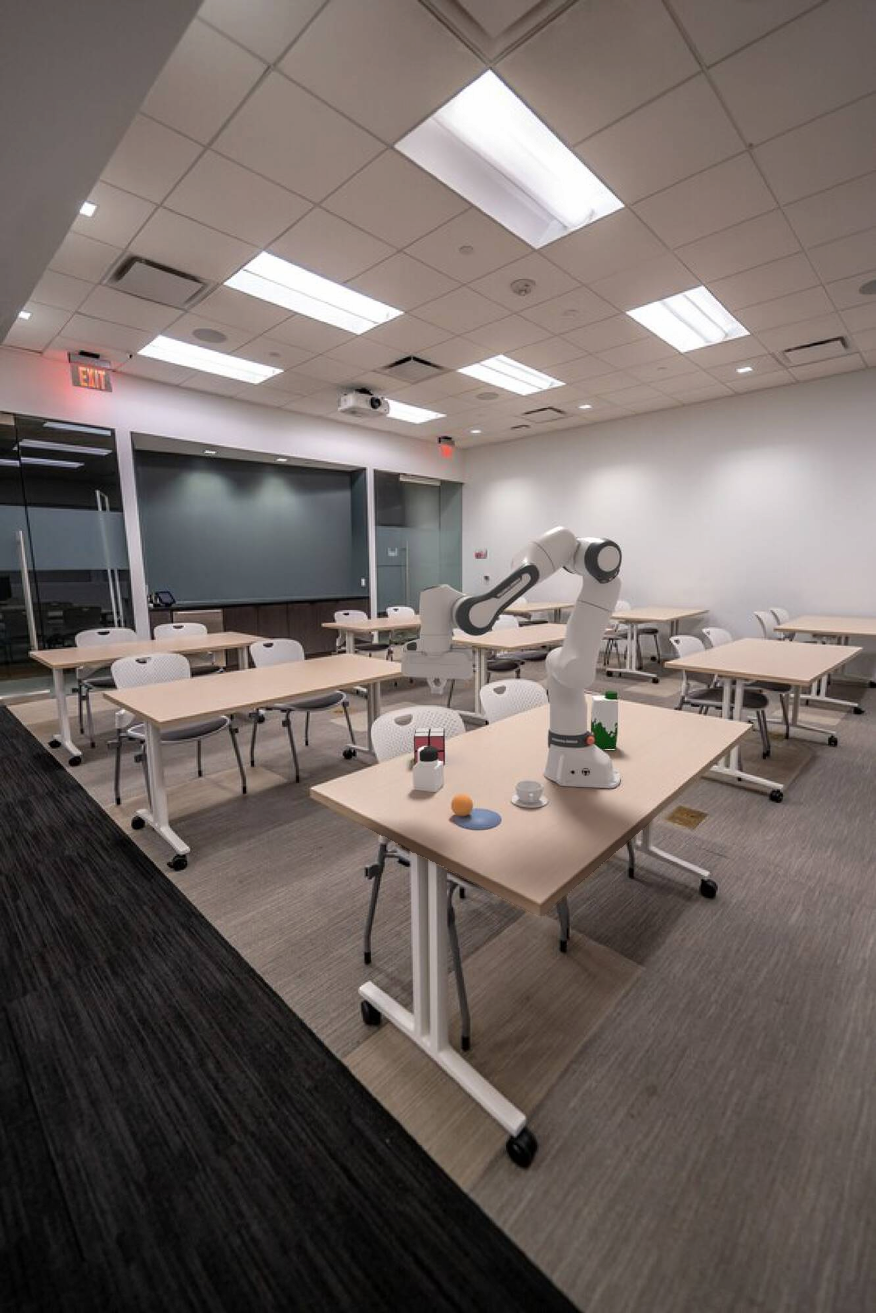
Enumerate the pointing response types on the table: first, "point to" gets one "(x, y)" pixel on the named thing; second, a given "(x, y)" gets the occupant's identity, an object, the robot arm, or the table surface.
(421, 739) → the puzzle cube
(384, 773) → the table surface
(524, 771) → the table surface
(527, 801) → the teacup
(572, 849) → the table surface
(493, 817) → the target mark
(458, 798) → the ball
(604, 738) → the milk carton
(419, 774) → the medicine bottle
